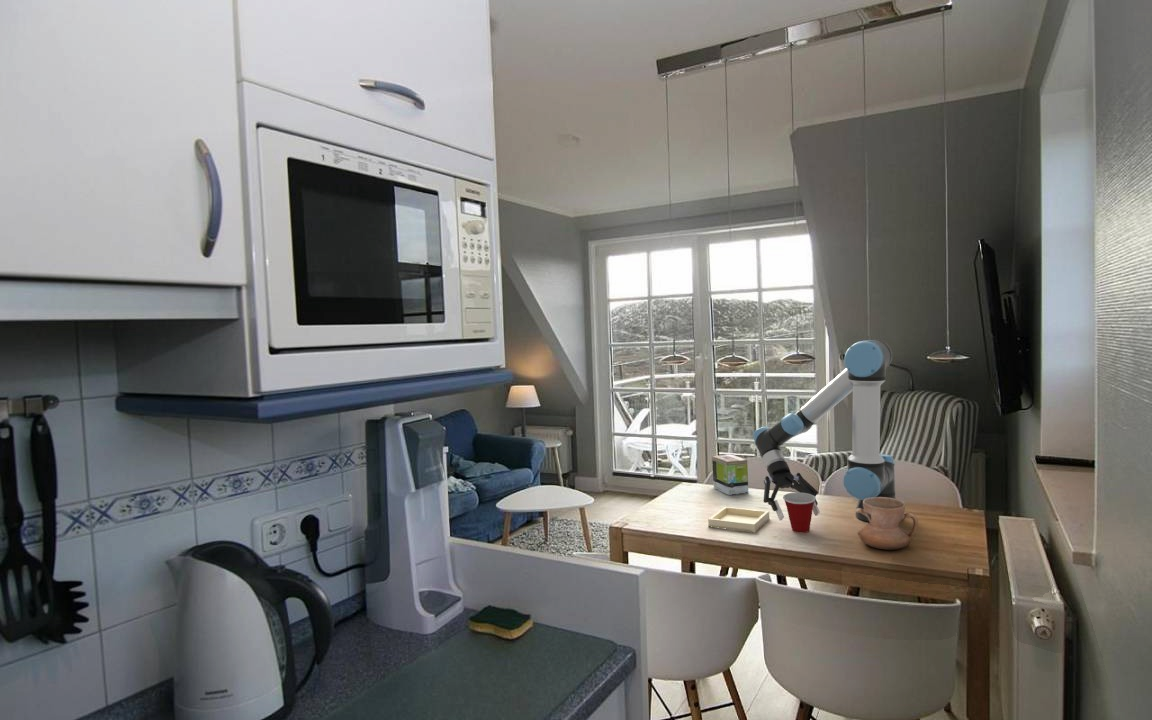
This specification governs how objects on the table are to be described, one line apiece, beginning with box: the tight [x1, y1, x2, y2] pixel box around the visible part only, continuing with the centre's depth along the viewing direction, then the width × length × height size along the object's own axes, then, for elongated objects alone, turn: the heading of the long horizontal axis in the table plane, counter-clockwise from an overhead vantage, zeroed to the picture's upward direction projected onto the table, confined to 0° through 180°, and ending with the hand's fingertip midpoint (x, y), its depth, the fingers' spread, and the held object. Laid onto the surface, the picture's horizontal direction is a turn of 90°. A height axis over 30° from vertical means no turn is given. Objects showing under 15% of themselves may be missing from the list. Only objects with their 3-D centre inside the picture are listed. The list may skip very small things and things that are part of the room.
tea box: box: [711, 453, 749, 496], centre depth 281 cm, size 15×10×15 cm, turn 13°
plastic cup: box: [782, 491, 817, 534], centre depth 223 cm, size 11×11×12 cm
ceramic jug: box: [854, 497, 919, 551], centre depth 203 cm, size 18×14×14 cm
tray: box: [707, 506, 770, 534], centre depth 235 cm, size 17×17×3 cm
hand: (799, 516), depth 222 cm, fingers open, 13 cm apart
